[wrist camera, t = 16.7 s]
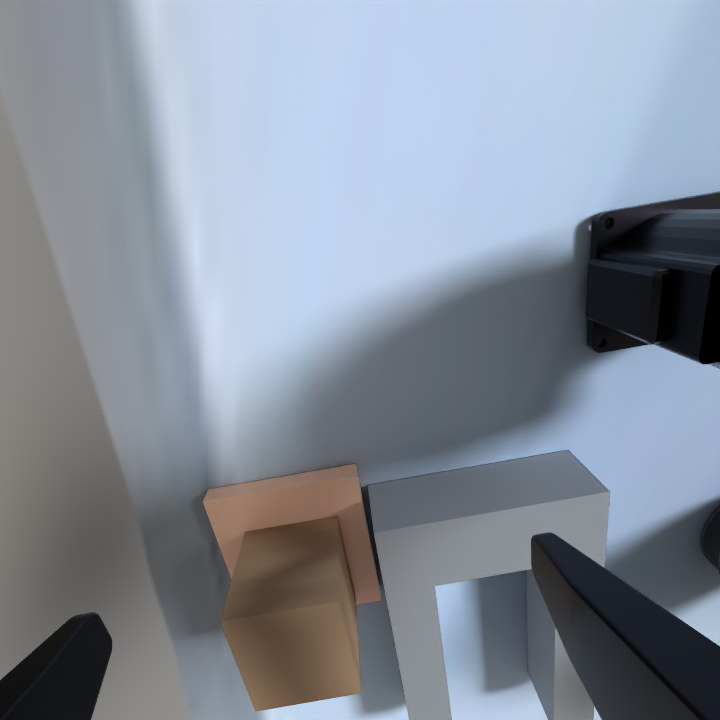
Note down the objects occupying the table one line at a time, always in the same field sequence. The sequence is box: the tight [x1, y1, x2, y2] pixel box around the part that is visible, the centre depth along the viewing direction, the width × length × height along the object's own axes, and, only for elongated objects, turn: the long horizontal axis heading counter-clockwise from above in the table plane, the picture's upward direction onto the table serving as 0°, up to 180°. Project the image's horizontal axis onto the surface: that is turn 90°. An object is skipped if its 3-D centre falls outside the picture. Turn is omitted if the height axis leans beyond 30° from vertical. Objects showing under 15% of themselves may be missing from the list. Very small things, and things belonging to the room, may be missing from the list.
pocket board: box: [368, 450, 610, 720], centre depth 23 cm, size 11×18×4 cm, turn 9°
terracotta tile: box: [203, 464, 382, 605], centre depth 22 cm, size 8×9×1 cm
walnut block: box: [220, 516, 361, 711], centre depth 20 cm, size 5×6×5 cm
